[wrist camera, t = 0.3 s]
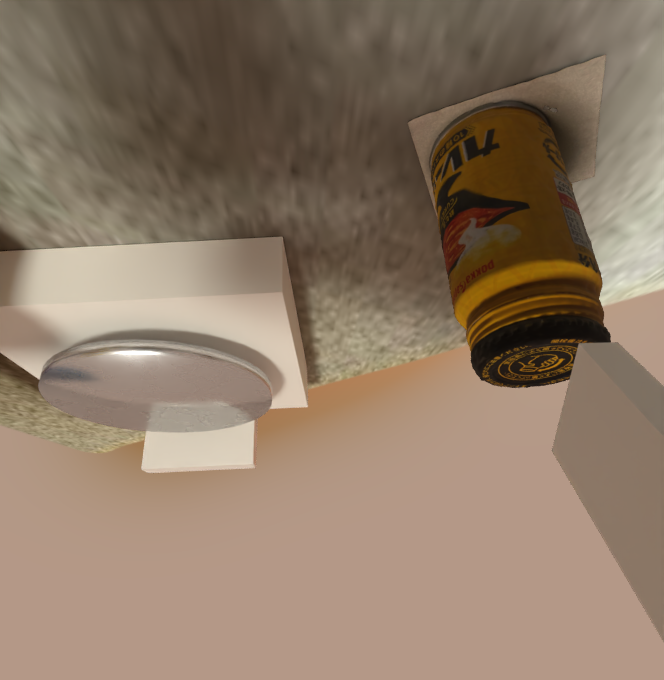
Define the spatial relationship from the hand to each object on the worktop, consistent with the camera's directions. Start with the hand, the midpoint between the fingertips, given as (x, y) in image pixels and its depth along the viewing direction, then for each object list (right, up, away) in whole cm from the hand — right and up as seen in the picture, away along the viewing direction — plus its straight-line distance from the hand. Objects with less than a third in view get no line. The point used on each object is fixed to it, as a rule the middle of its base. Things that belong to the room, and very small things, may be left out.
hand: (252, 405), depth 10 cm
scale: (-11, +2, +31) cm, 33 cm away
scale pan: (-11, -2, +27) cm, 29 cm away
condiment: (+10, +11, +15) cm, 22 cm away
